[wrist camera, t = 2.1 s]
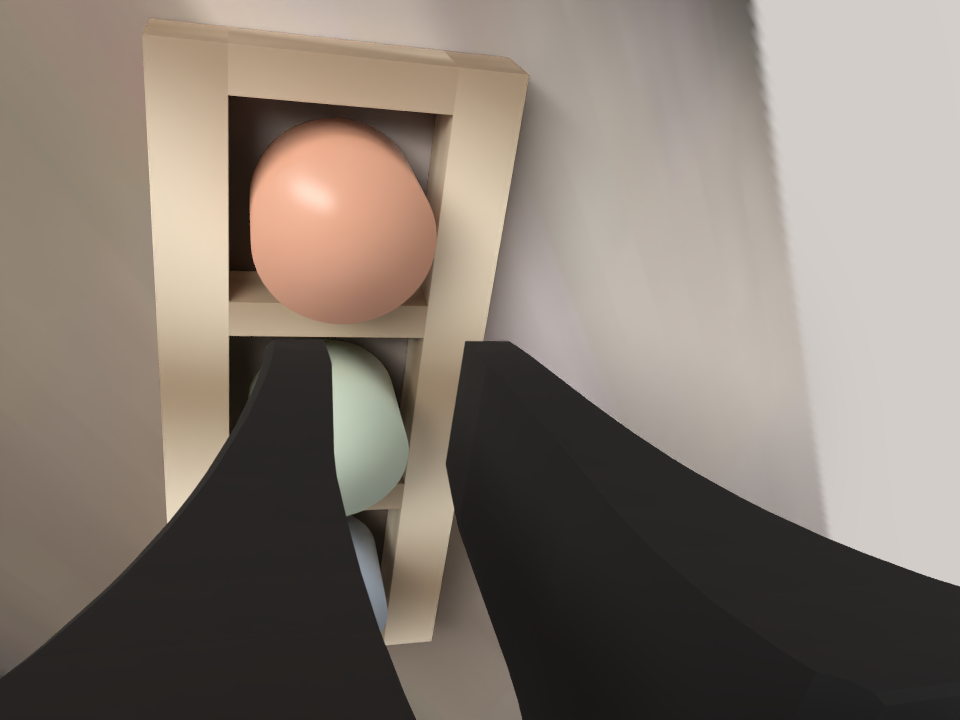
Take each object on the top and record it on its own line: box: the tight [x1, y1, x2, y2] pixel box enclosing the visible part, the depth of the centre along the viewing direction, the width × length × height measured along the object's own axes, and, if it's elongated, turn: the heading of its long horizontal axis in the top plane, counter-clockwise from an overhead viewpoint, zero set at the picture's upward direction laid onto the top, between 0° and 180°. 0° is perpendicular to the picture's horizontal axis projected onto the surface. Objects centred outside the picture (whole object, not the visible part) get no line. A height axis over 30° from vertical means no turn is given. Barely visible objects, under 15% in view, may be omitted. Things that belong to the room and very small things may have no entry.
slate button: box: [346, 515, 388, 632], centre depth 21 cm, size 3×3×2 cm
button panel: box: [142, 18, 529, 645], centre depth 20 cm, size 16×7×2 cm, turn 171°
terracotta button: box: [249, 118, 437, 324], centre depth 16 cm, size 3×3×2 cm
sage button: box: [247, 339, 409, 516], centre depth 19 cm, size 3×3×2 cm
